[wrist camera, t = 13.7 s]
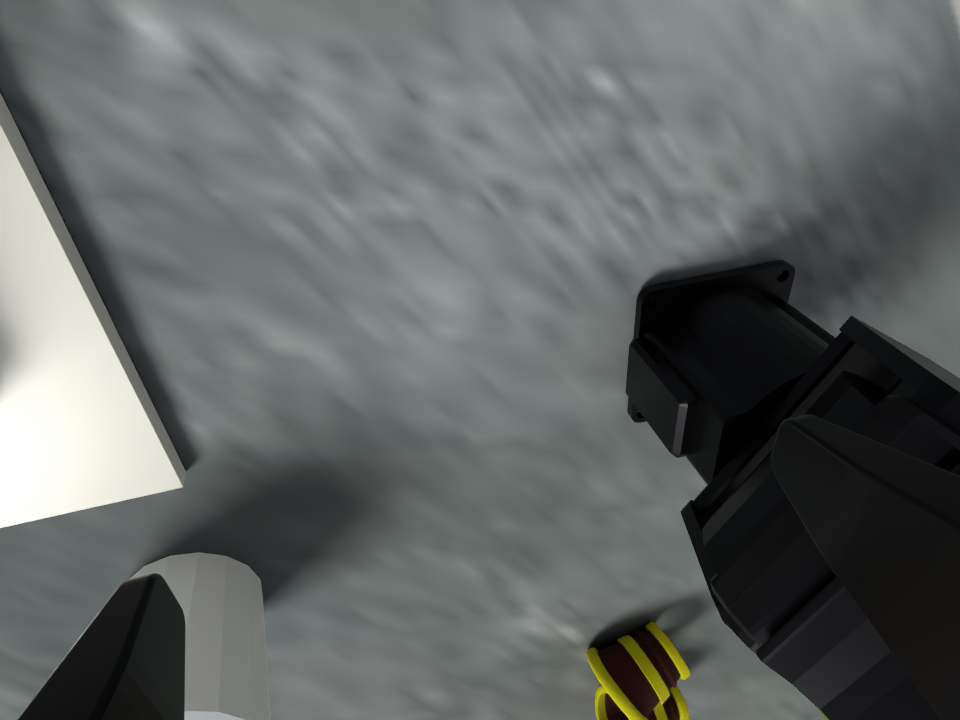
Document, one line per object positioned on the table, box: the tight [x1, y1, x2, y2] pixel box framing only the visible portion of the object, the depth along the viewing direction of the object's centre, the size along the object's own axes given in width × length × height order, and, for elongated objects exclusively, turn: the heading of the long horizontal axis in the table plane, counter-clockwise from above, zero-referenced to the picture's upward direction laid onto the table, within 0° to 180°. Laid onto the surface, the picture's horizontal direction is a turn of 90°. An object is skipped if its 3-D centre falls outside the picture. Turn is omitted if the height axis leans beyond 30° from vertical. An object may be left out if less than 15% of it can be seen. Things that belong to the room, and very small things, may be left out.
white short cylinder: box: [130, 552, 271, 720], centre depth 24 cm, size 7×7×7 cm
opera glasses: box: [586, 622, 690, 720], centre depth 38 cm, size 10×5×5 cm, turn 11°
